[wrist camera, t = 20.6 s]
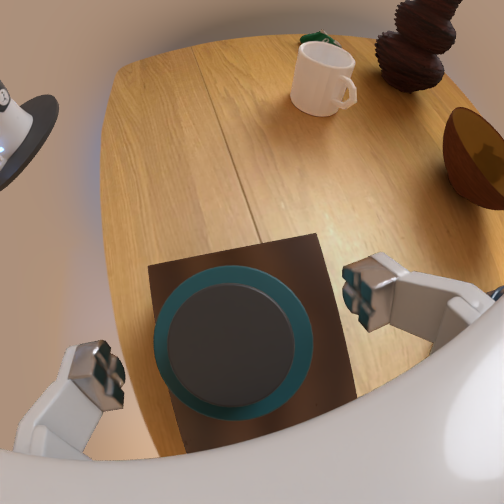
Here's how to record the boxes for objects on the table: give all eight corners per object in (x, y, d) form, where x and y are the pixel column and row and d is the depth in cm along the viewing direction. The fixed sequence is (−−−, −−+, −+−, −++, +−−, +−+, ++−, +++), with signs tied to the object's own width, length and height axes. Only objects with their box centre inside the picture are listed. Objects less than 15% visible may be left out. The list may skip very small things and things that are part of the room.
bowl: (422, 203, 33) (462, 166, 23) (419, 126, 38) (444, 90, 29) (494, 244, 32) (533, 222, 22) (484, 168, 37) (511, 142, 28)
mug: (319, 139, 35) (337, 87, 26) (281, 90, 39) (288, 41, 29) (361, 130, 37) (384, 84, 27) (321, 84, 40) (334, 40, 31)
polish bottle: (212, 379, 18) (157, 447, 5) (198, 314, 20) (122, 267, 7) (278, 365, 19) (346, 411, 6) (264, 301, 20) (303, 232, 7)
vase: (389, 102, 40) (448, -24, 11) (353, 58, 44) (388, -51, 16) (439, 109, 41) (499, 13, 13) (404, 66, 46) (444, -23, 17)
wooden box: (210, 459, 22) (201, 494, 15) (171, 285, 28) (147, 265, 21) (337, 430, 24) (366, 455, 16) (297, 260, 30) (316, 232, 22)
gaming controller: (326, 67, 45) (347, 52, 41) (318, 57, 42) (340, 42, 38) (305, 47, 47) (324, 33, 44) (296, 38, 44) (316, 23, 41)
